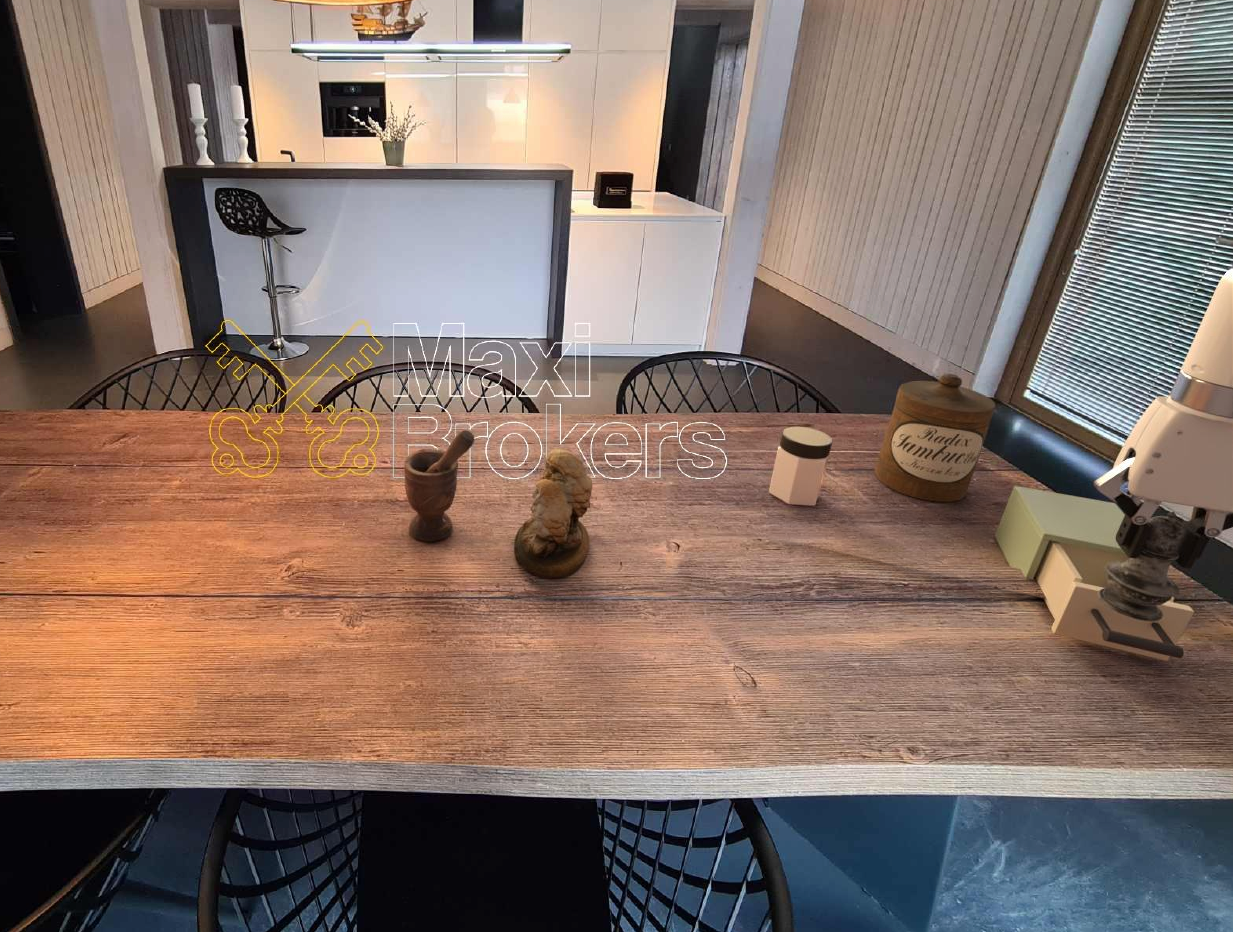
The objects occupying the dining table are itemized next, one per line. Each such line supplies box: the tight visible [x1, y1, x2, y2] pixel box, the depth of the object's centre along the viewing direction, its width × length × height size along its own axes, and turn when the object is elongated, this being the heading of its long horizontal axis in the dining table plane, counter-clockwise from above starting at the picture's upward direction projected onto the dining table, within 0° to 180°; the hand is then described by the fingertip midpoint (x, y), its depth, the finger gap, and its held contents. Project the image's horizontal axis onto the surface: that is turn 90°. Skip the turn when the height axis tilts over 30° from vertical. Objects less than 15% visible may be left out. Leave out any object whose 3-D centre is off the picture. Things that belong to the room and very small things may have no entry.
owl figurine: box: [513, 448, 593, 580], centre depth 104 cm, size 18×12×17 cm, turn 167°
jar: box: [768, 426, 833, 507], centre depth 120 cm, size 9×8×12 cm
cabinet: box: [994, 485, 1126, 581], centre depth 100 cm, size 15×13×10 cm
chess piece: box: [1097, 511, 1185, 621], centre depth 71 cm, size 6×6×12 cm
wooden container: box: [874, 373, 996, 503], centre depth 123 cm, size 15×15×22 cm
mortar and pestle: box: [403, 429, 475, 542], centre depth 107 cm, size 12×9×20 cm
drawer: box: [1034, 540, 1195, 662], centre depth 88 cm, size 19×12×8 cm, turn 156°
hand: (1152, 554), depth 71 cm, fingers closed on chess piece, 3 cm apart
